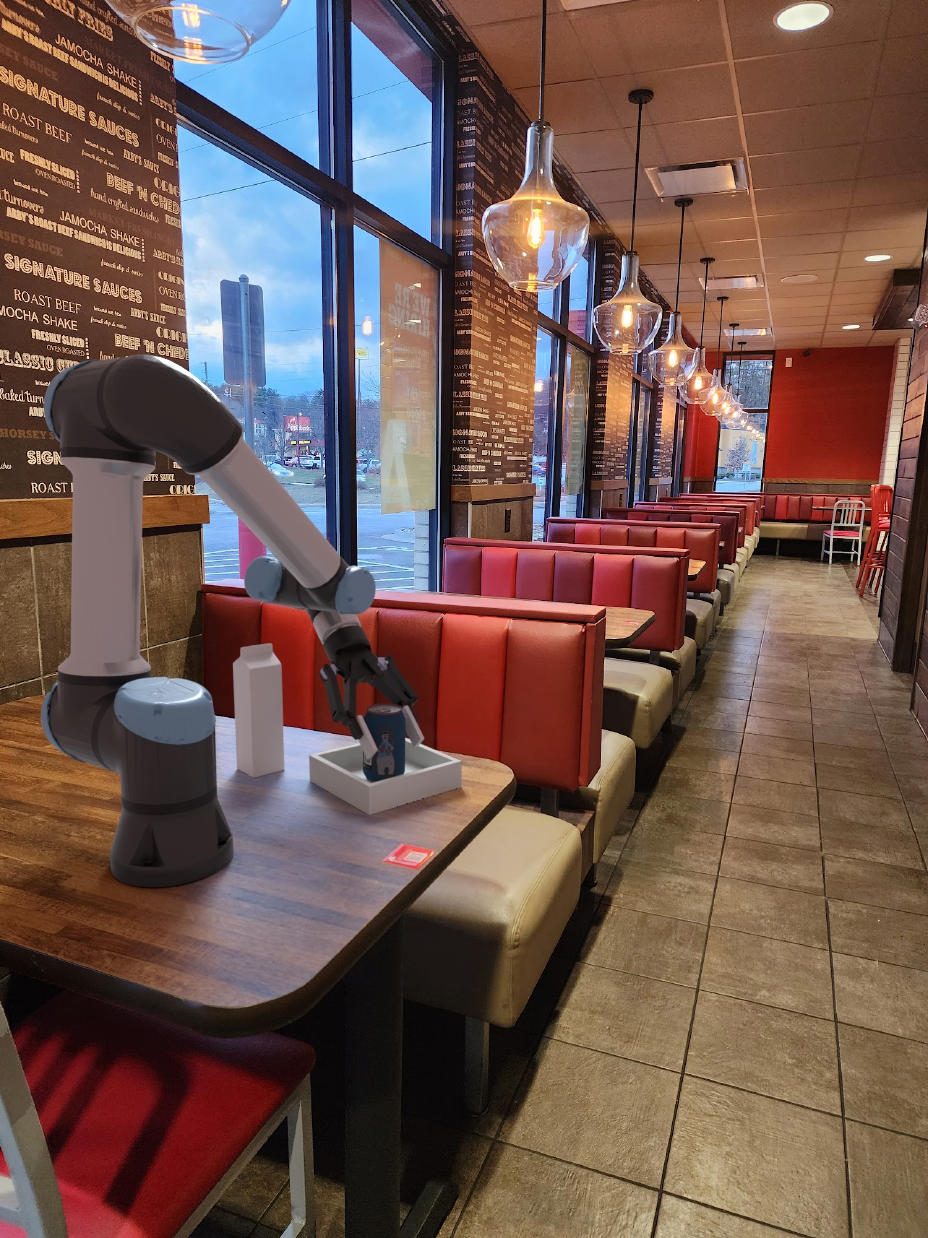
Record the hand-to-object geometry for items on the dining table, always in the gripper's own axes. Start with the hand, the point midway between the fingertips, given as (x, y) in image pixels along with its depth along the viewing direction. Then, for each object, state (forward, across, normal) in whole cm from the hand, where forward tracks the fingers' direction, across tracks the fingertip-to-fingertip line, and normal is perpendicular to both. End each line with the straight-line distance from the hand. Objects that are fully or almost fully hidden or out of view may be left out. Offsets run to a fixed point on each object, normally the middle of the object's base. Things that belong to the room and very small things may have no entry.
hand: (396, 748), depth 128 cm
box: (+3, 0, -7) cm, 8 cm away
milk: (-11, +13, -21) cm, 27 cm away
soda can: (+2, 0, -7) cm, 7 cm away
